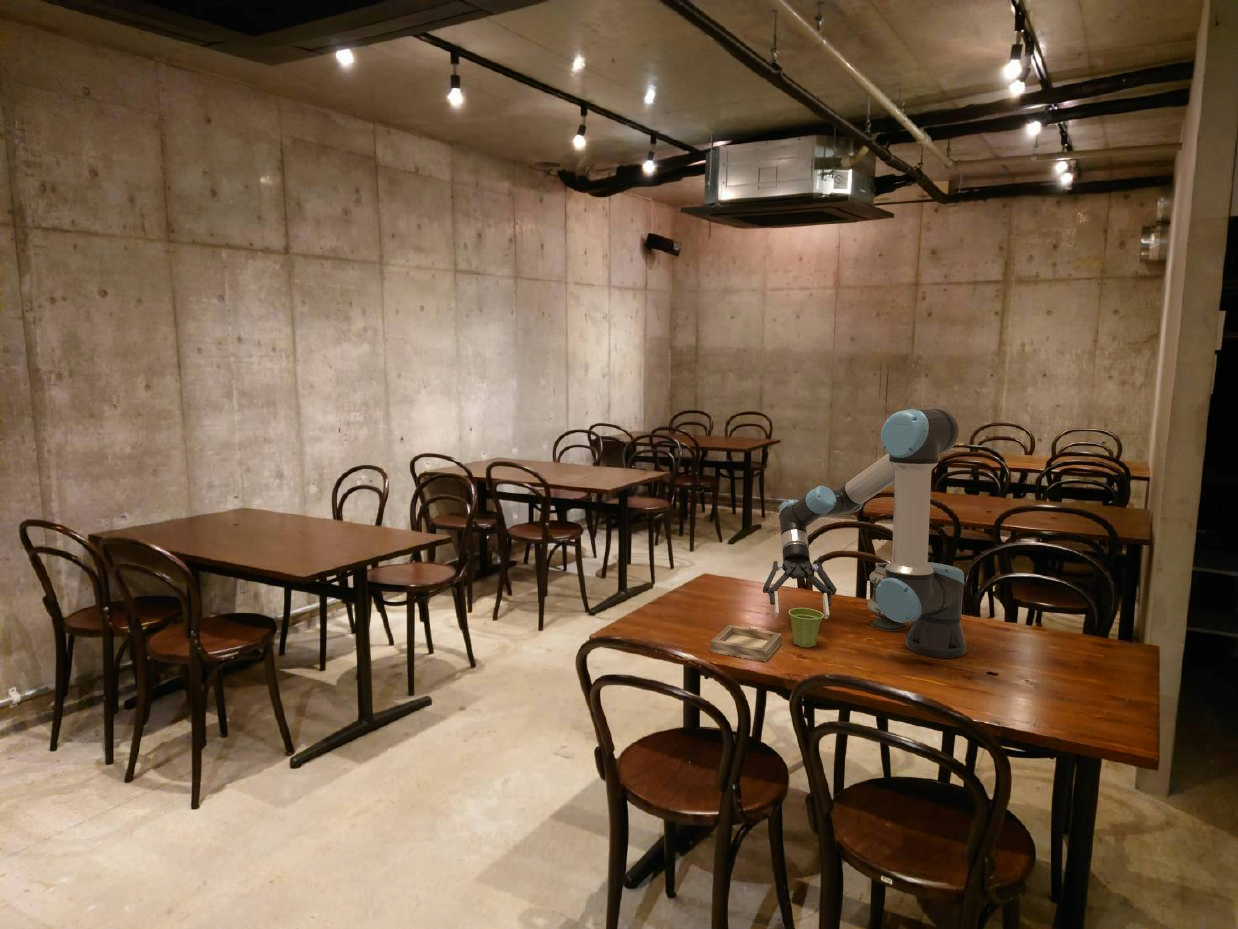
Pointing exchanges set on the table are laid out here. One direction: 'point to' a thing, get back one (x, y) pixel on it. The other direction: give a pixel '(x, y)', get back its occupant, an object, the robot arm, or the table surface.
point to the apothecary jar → (872, 605)
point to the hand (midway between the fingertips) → (801, 616)
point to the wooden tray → (746, 643)
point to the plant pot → (805, 626)
